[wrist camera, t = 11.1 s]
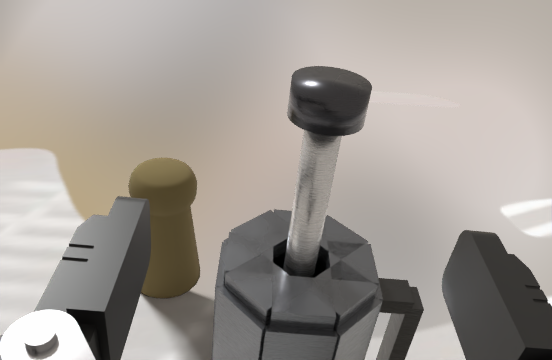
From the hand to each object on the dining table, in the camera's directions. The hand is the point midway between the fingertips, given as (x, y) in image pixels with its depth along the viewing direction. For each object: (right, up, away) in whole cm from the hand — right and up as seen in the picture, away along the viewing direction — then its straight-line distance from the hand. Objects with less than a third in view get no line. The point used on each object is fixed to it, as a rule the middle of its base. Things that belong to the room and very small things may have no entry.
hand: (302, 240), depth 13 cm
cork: (-10, -7, +31) cm, 34 cm away
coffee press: (+1, -14, +22) cm, 26 cm away
